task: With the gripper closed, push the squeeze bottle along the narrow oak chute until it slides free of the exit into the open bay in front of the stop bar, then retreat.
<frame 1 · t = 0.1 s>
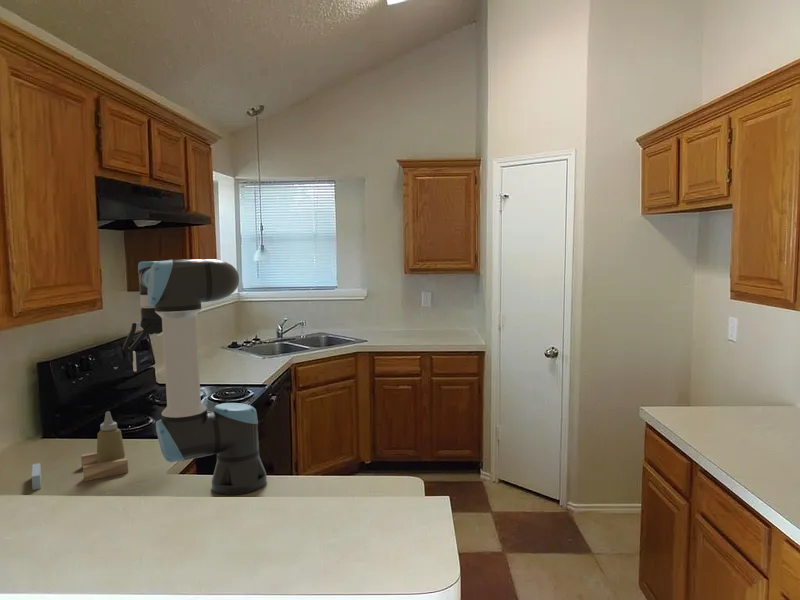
hand: (156, 368, 200), 28 cm above the counter, fingers open, 13 cm apart
stop bar: (37, 482, 173), on the counter
squeeze bottle: (111, 468, 183), on the counter
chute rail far: (103, 464, 187), on the counter
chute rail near: (106, 475, 177), on the counter
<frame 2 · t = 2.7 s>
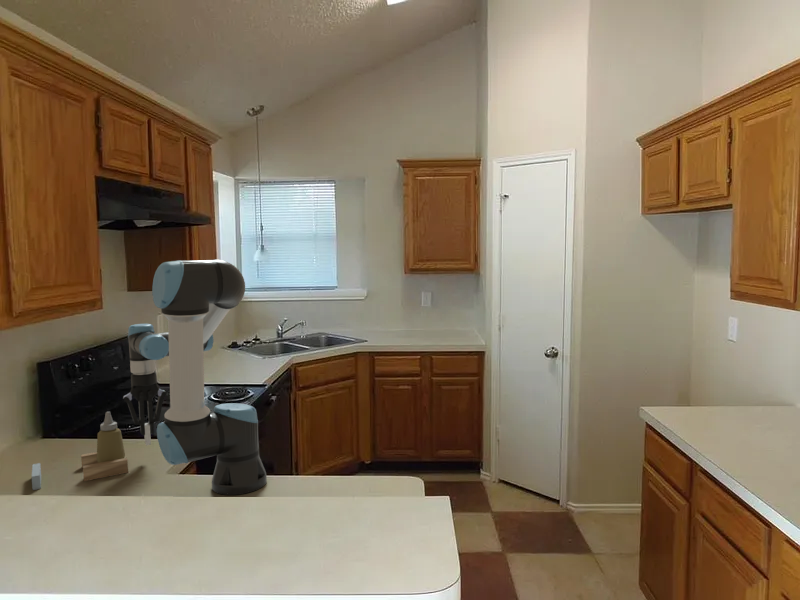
hand: (147, 443, 189), 6 cm above the counter, fingers closed
nothing on the counter moved.
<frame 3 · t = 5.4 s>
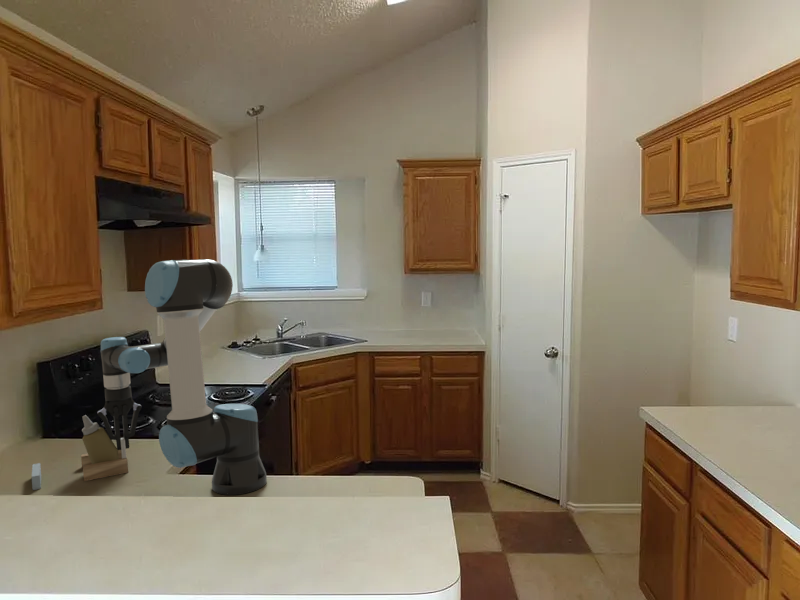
hand: (124, 458, 186), 2 cm above the counter, fingers closed
squeeze bottle: (109, 466, 183), point 1 cm above the counter, touching gripper
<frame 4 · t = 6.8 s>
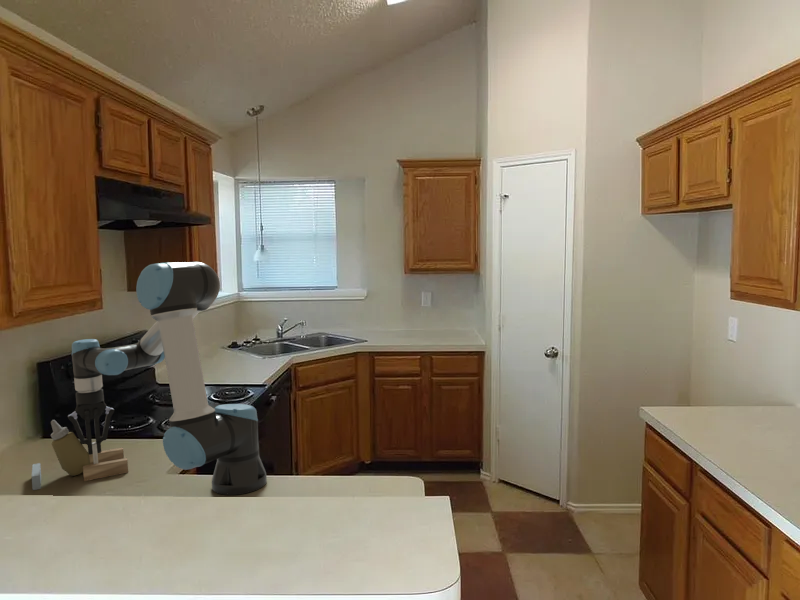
hand: (95, 463, 182), 2 cm above the counter, fingers closed
squeeze bottle: (81, 470, 179), point 1 cm above the counter, touching gripper
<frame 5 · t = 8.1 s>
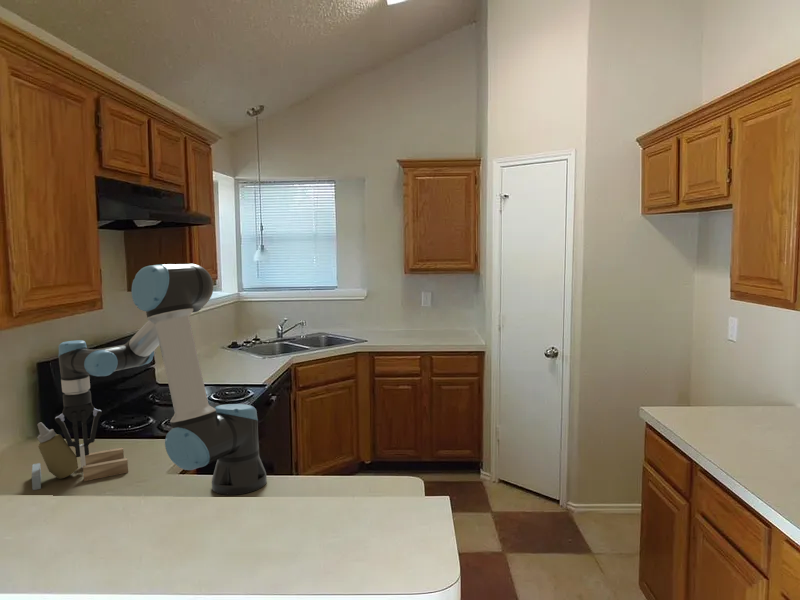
hand: (83, 466, 180), 2 cm above the counter, fingers closed
squeeze bottle: (68, 473, 178), point 1 cm above the counter, touching gripper
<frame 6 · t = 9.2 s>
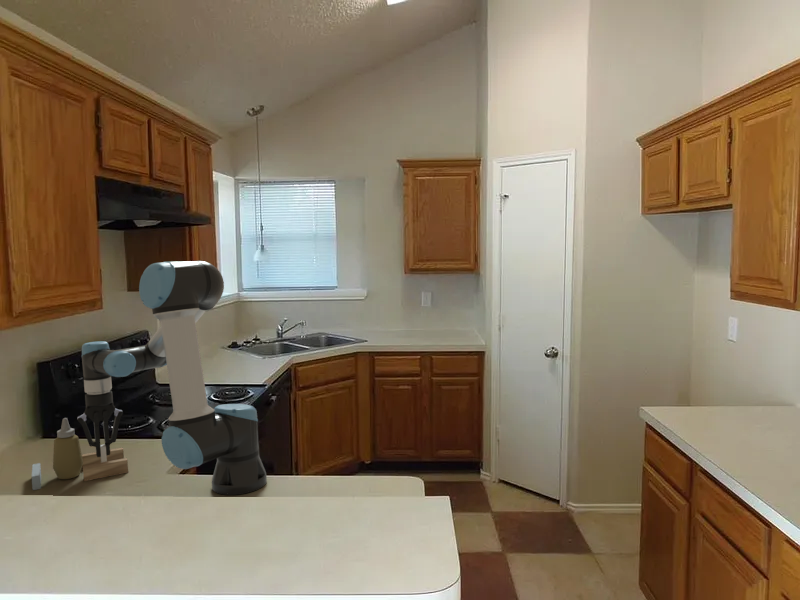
hand: (104, 466, 182), 1 cm above the counter, fingers closed
squeeze bottle: (69, 476, 178), on the counter
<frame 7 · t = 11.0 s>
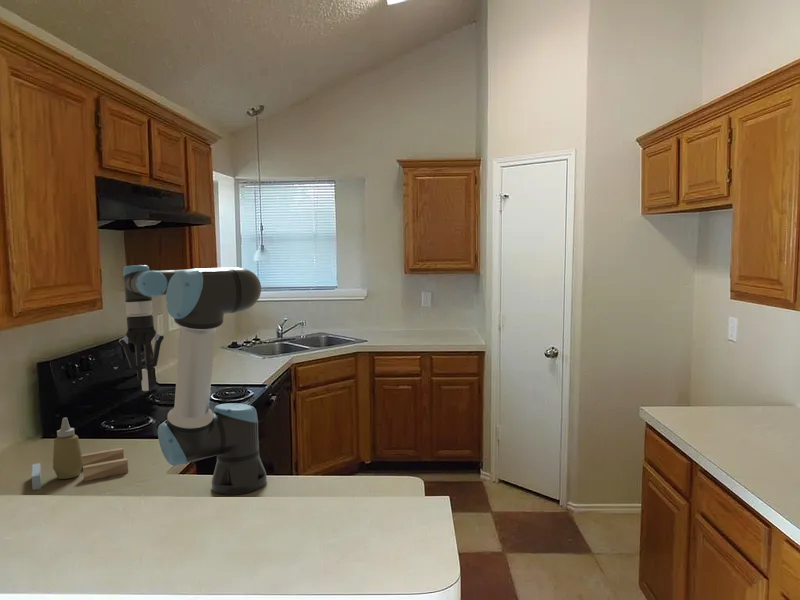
hand: (145, 390, 182), 24 cm above the counter, fingers closed
nothing on the counter moved.
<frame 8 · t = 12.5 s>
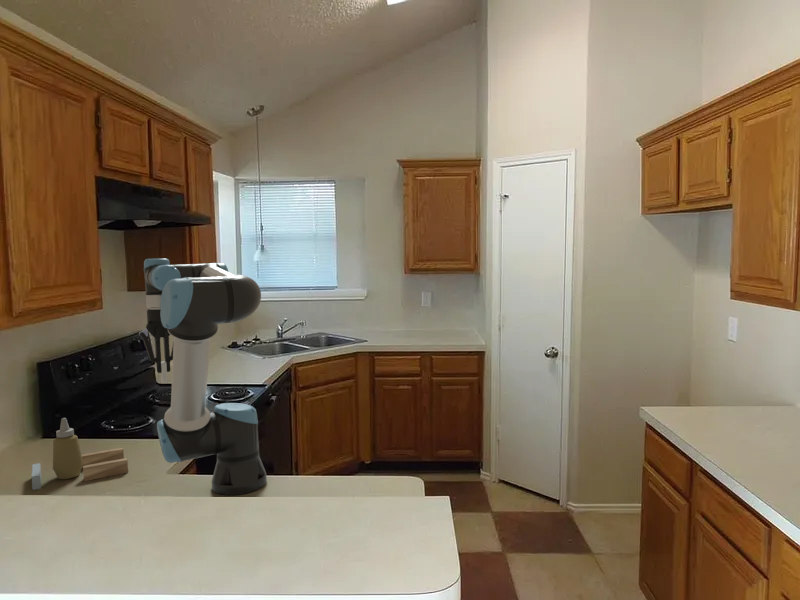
hand: (164, 382, 183), 26 cm above the counter, fingers closed
nothing on the counter moved.
at the end: squeeze bottle inside the target area (3.3 cm from its centre), on the counter; squeeze bottle tilted 1°; squeeze bottle moved 11.8 cm from its start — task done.
